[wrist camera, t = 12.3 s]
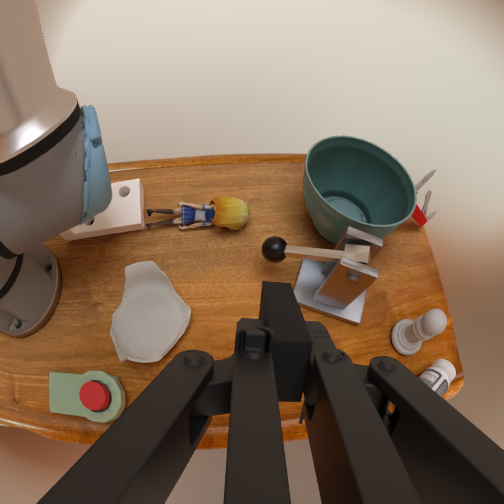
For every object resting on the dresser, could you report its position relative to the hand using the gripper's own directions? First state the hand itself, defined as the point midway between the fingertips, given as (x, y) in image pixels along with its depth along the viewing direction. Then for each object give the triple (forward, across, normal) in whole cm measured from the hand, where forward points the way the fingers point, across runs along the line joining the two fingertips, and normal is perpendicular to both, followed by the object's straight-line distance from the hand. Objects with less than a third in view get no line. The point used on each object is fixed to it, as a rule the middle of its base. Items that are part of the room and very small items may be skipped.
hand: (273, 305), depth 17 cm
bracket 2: (+24, +10, -7) cm, 27 cm away
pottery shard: (+19, -13, -12) cm, 26 cm away
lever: (+20, +7, -2) cm, 21 cm away
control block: (+11, -21, -20) cm, 31 cm away
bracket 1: (+29, -24, -1) cm, 37 cm away
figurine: (+29, -9, 0) cm, 31 cm away
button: (+10, -18, -18) cm, 27 cm away
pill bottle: (+11, +21, -19) cm, 30 cm away
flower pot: (+32, +13, +2) cm, 34 cm away
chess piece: (+20, +22, -12) cm, 32 cm away
